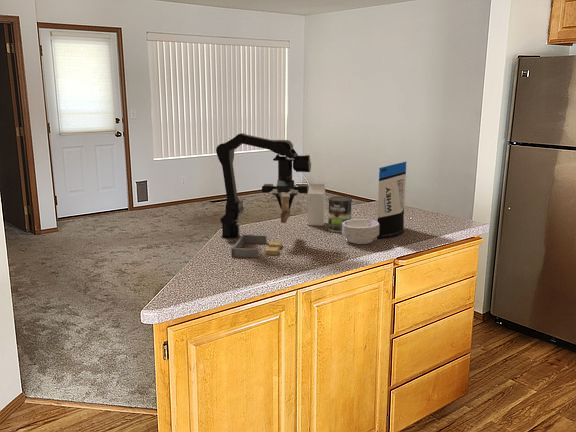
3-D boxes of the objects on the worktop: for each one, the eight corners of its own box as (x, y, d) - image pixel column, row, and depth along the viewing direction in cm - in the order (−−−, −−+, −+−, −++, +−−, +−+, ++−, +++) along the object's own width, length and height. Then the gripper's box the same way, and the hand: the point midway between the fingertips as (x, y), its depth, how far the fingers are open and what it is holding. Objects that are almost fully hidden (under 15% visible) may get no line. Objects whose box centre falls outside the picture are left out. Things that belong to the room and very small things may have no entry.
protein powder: (412, 229, 236) (416, 162, 229) (387, 241, 218) (390, 168, 211) (393, 226, 242) (396, 160, 235) (366, 237, 223) (369, 166, 216)
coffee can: (347, 233, 230) (348, 201, 227) (324, 231, 234) (325, 199, 231) (353, 227, 239) (354, 197, 236) (332, 225, 243) (332, 195, 240)
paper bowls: (335, 238, 222) (335, 220, 220) (366, 234, 228) (366, 216, 226) (353, 248, 208) (354, 229, 207) (386, 243, 214) (387, 224, 212)
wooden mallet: (279, 222, 213) (279, 199, 211) (284, 214, 227) (284, 192, 225) (287, 222, 213) (286, 199, 211) (291, 214, 226) (291, 193, 224)
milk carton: (322, 226, 243) (323, 185, 238) (307, 225, 244) (307, 184, 239) (325, 222, 249) (325, 182, 245) (310, 221, 251) (310, 182, 246)
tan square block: (268, 249, 209) (268, 244, 208) (270, 246, 213) (270, 241, 213) (280, 249, 208) (280, 244, 208) (281, 246, 213) (281, 241, 212)
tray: (231, 256, 199) (231, 248, 198) (242, 241, 218) (242, 234, 217) (257, 257, 198) (257, 249, 197) (266, 242, 217) (266, 235, 216)
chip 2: (265, 255, 201) (265, 250, 201) (267, 252, 205) (267, 247, 205) (277, 255, 201) (277, 250, 200) (278, 252, 205) (278, 247, 204)
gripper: (259, 174, 209) (259, 213, 212) (306, 175, 206) (306, 214, 210) (263, 170, 219) (264, 207, 223) (308, 170, 217) (308, 208, 221)
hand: (285, 209), depth 219 cm, fingers closed on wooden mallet, 3 cm apart
